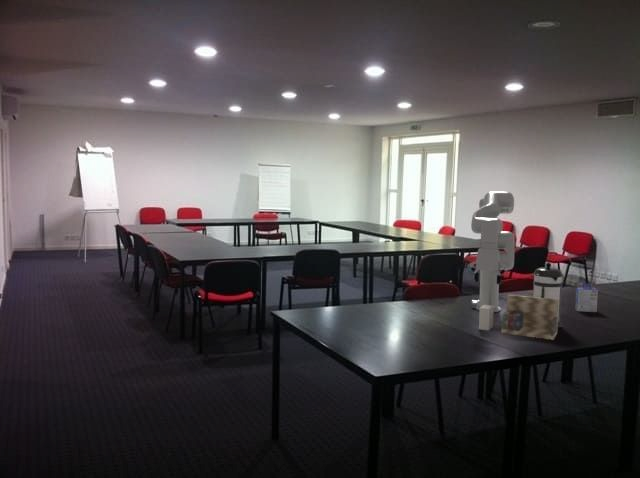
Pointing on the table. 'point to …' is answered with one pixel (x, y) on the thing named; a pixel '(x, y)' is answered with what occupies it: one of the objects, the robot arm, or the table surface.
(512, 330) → the bookshelf
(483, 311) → the boxed book
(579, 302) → the ink cartridge box
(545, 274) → the coffee press
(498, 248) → the robot arm
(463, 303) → the table surface
